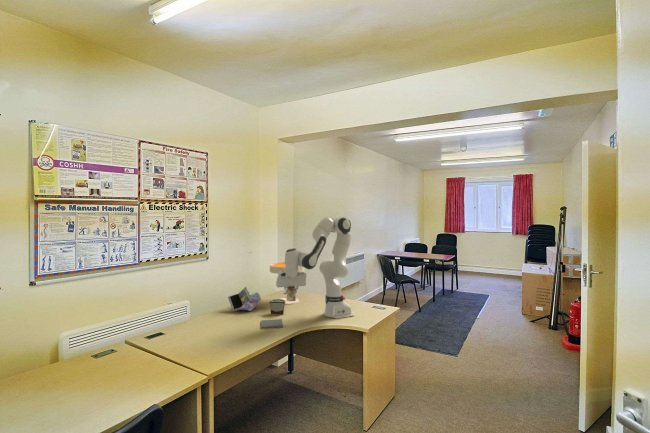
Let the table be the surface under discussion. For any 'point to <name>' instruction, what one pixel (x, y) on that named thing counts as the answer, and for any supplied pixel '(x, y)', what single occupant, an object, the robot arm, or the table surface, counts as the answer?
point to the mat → (271, 323)
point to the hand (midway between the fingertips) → (291, 293)
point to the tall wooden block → (291, 294)
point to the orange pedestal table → (280, 267)
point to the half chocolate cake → (277, 306)
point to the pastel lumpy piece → (244, 300)
